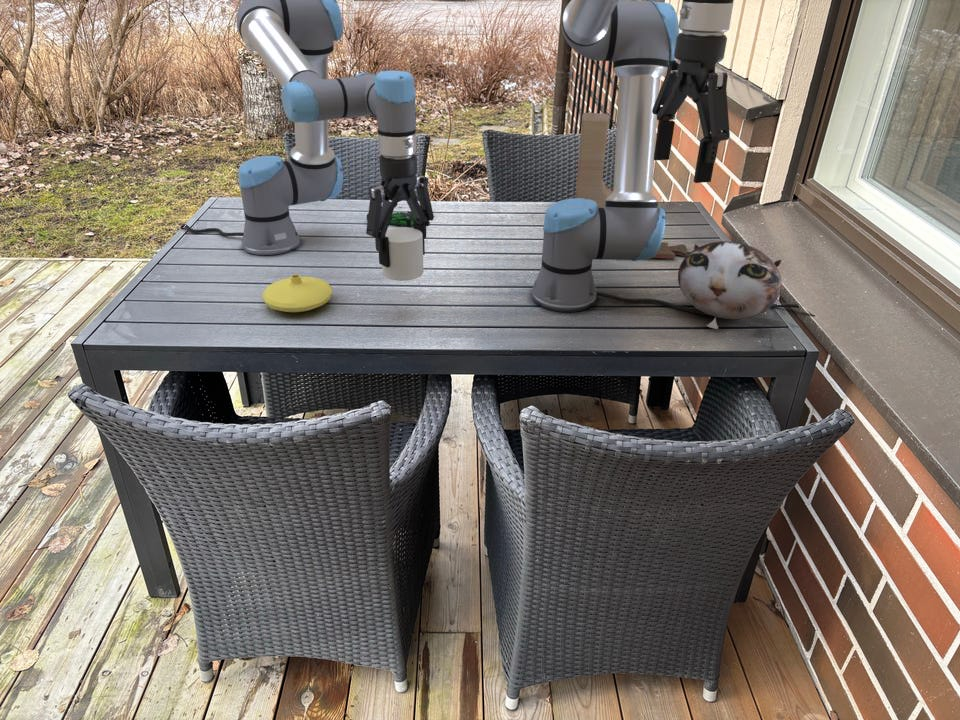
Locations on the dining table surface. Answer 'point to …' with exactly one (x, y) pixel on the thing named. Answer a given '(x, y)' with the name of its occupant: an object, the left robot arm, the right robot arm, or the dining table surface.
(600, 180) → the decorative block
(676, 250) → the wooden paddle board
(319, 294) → the vase
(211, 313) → the dining table surface
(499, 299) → the dining table surface
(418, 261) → the can
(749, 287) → the cat face balloon
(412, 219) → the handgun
